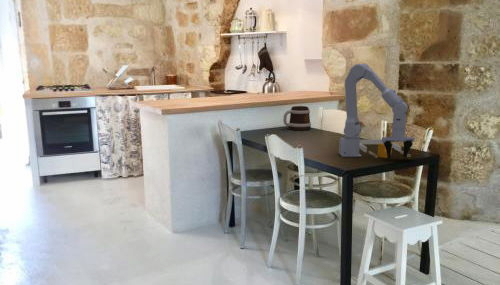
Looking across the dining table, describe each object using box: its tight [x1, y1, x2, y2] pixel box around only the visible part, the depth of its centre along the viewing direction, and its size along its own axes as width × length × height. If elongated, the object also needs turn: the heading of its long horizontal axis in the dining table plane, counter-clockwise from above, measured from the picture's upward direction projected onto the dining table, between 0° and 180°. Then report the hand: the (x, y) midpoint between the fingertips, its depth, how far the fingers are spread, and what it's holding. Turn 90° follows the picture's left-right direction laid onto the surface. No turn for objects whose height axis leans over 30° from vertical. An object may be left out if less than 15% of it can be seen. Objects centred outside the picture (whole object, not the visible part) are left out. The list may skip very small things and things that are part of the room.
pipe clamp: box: [377, 142, 393, 159], centre depth 211 cm, size 12×4×6 cm, turn 142°
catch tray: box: [359, 138, 402, 153], centre depth 228 cm, size 19×21×2 cm
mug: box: [283, 105, 312, 132], centre depth 286 cm, size 20×15×15 cm
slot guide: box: [368, 150, 412, 159], centre depth 210 cm, size 17×10×1 cm, turn 94°
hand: (396, 157), depth 201 cm, fingers open, 7 cm apart
